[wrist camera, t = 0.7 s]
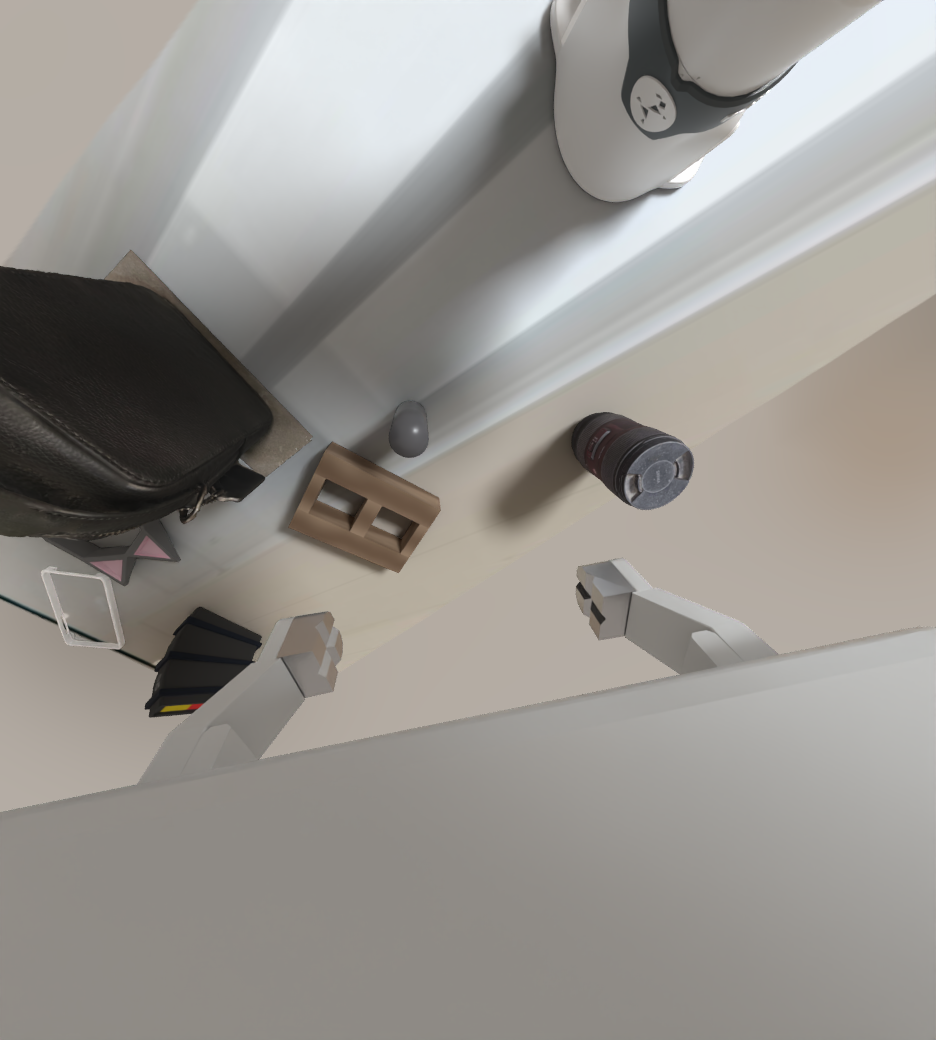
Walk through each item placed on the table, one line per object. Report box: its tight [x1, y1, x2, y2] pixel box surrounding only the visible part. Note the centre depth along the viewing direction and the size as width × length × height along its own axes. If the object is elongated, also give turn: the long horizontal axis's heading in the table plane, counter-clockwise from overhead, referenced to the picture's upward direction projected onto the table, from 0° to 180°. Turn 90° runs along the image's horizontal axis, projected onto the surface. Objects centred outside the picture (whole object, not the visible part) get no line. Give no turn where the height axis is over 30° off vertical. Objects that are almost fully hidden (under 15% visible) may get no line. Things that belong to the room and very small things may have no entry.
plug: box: [389, 401, 429, 458], centre depth 39 cm, size 4×4×10 cm
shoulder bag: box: [0, 250, 313, 541], centre depth 26 cm, size 23×9×28 cm, turn 34°
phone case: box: [41, 567, 125, 649], centre depth 51 cm, size 7×1×15 cm
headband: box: [42, 519, 181, 586], centre depth 44 cm, size 14×3×15 cm
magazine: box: [145, 607, 262, 717], centre depth 51 cm, size 4×13×15 cm, turn 43°
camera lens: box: [572, 412, 694, 510], centre depth 41 cm, size 8×8×15 cm
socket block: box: [288, 442, 441, 573], centre depth 47 cm, size 12×16×4 cm
